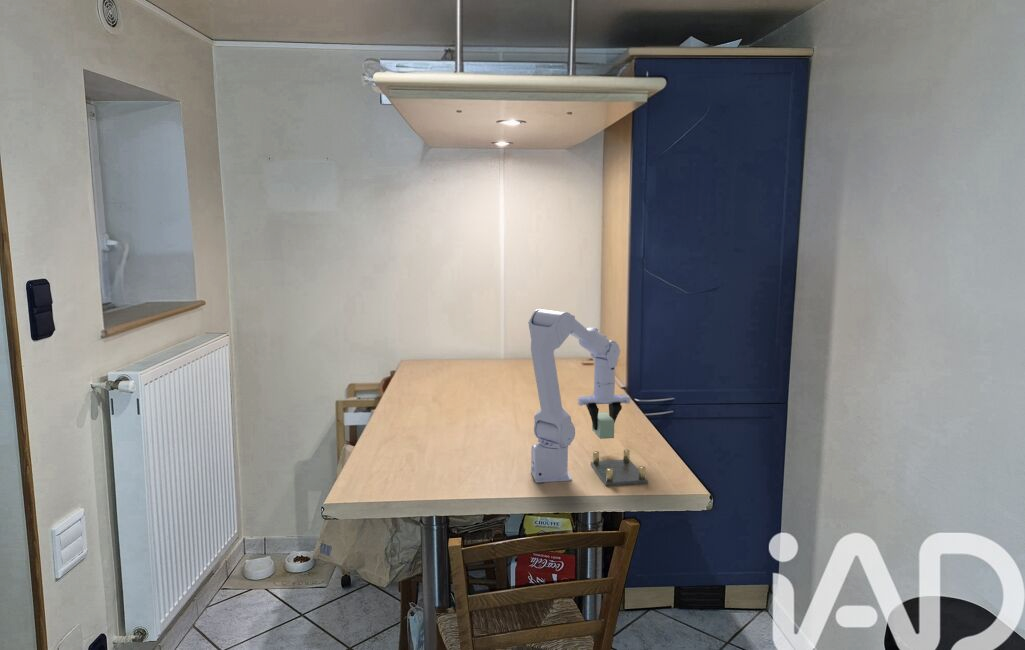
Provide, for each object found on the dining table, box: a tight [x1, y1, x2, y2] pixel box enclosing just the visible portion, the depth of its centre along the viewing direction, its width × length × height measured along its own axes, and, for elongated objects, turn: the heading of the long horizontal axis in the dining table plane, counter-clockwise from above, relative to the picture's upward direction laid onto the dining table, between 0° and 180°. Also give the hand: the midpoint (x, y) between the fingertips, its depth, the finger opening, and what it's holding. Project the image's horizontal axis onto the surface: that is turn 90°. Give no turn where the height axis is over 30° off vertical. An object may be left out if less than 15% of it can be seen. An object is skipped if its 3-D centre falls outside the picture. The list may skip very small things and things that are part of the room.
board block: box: [592, 412, 616, 440], centre depth 196 cm, size 4×8×5 cm, turn 9°
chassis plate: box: [590, 448, 649, 487], centre depth 183 cm, size 11×15×4 cm
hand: (603, 428), depth 196 cm, fingers closed on board block, 4 cm apart
